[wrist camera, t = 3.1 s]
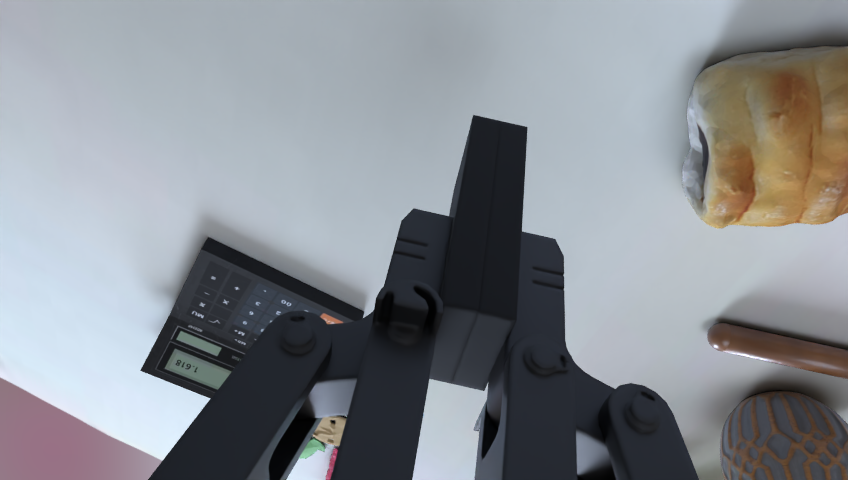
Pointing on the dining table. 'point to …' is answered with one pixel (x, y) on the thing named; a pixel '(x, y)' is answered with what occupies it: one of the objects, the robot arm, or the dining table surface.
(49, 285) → the dining table surface
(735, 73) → the pastry
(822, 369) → the wooden spoon
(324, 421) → the toy pieces
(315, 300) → the calculator
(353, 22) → the dining table surface
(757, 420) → the vase
